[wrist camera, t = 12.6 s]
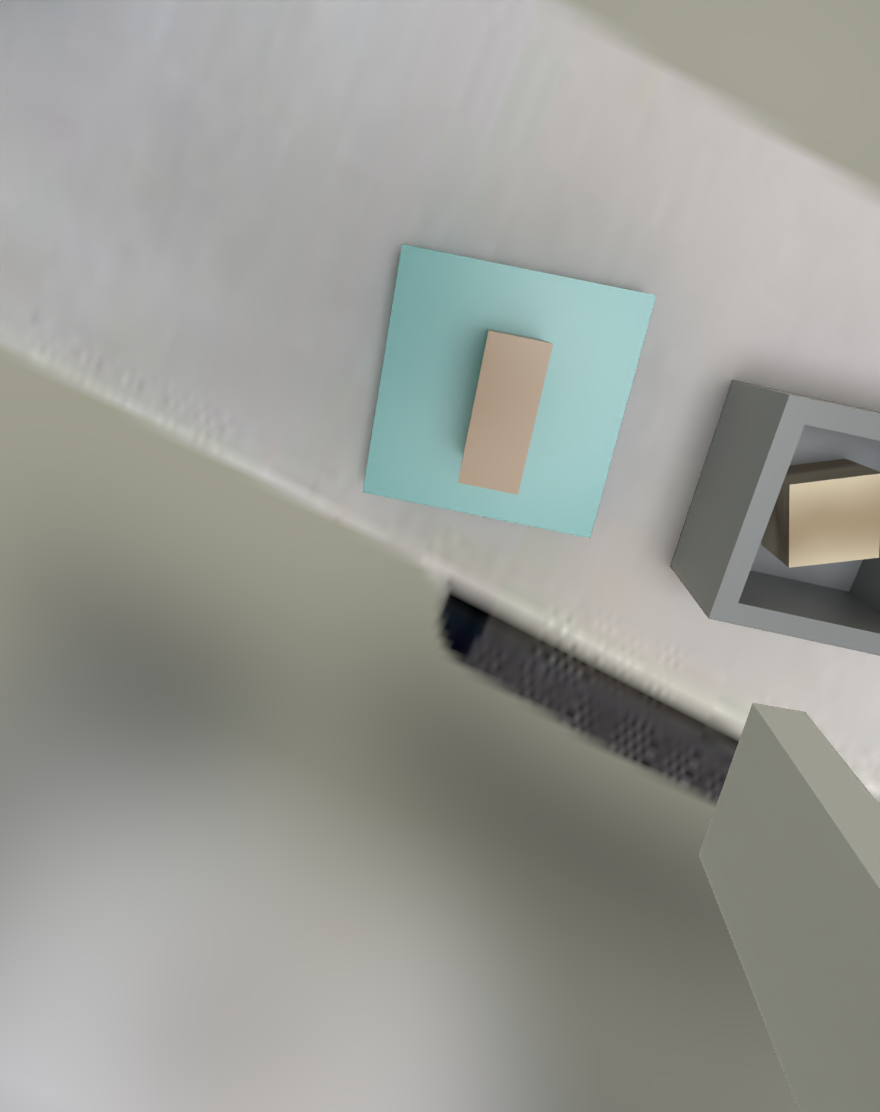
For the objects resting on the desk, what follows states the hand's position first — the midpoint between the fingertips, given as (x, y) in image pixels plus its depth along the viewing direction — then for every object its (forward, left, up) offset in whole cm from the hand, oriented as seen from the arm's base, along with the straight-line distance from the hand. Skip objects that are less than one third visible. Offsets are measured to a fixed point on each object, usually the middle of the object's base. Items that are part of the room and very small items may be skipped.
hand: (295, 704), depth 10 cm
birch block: (0, +19, -27) cm, 33 cm away
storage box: (0, +19, -28) cm, 34 cm away
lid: (-2, +3, -28) cm, 28 cm away
